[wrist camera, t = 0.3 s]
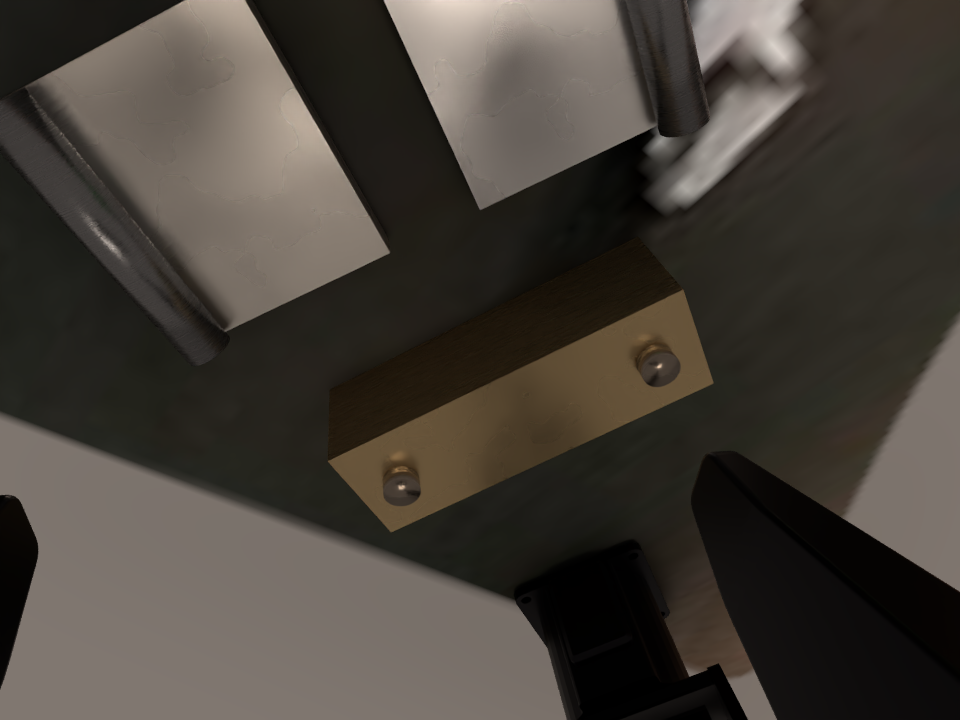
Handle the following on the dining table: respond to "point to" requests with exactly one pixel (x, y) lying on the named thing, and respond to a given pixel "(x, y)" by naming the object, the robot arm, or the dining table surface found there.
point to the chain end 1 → (193, 171)
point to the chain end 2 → (550, 80)
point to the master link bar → (516, 386)
